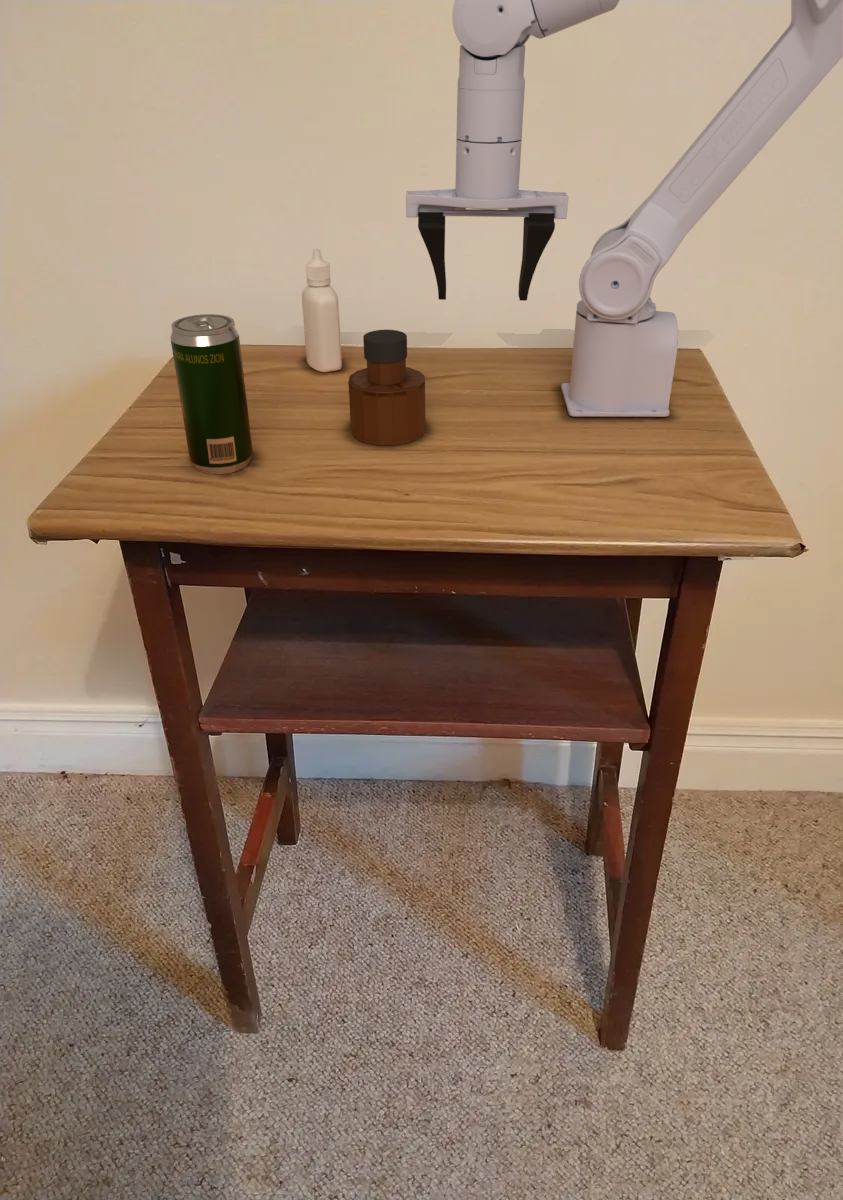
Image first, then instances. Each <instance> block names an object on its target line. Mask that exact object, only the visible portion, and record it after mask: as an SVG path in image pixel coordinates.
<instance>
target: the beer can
mask: <svg viewBox="0 0 843 1200" xmlns="http://www.w3.org/2000/svg"><path fill="white" fill-rule="evenodd" d="M235 325H236V323H235V320H234V318H233V317H230V316H228V315H223V314H216V313H215V314H214V313H211V314H210V313H206V314H205V313H203V314H194V315H187V316H185V317H181V318H178V319H176V320H174V321H173V322H172V323H171V326H170V327H171V334H170V336H169V339H170V345H171V351H172V358H173V364H174V369H175V375H176V382H177V386H178V387H177V389H178V395H179V401H180V406H181V413H182V419H183V425H184V431H185V432H184V433H185V438H186V444H187V450H188V457H189V460H190V462H191V464H192V465H193V467H194V468H195V469H196V470H197V471H198V472H201V473H204V474H208V475H209V474H210V475H225V474H231V473H234V472H235V473H236V472H239V471H240V470H243V469H245V468H246V467H247V466H248V465H250V462H251V460H252V456H253V451H254V449H253V442H252V434H251V425H250V424H251V423H250V418H249V417H250V416H249V409H248V399H247V391H246V382H245V375H244V365H243V358H242V349H241V341H240V340H241V339H240V334H239V331H238V329H237V328H236V326H235Z"/></svg>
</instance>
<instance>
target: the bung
mask: <svg viewBox="0 0 843 1200" xmlns="http://www.w3.org/2000/svg"><path fill="white" fill-rule="evenodd" d="M362 337H363V339H362V340H363V357H364V359H365V360H366V361H367V360H368V361H370V362H375V363H395V362H399V361H402V360H404V359H406V360H407V357H408V334H407V333H405V332H403V331H401V330H396V329H377V330H372V331H371V330H370V331H368V332H366V333H365V334H364V335H363V336H362Z"/></svg>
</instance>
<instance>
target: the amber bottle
mask: <svg viewBox="0 0 843 1200" xmlns="http://www.w3.org/2000/svg"><path fill="white" fill-rule="evenodd" d="M347 382H348V398H349V399H348V400H349V419H350V421H349V422H350V431H351V435H352V436H353V437H354V439H356V440H357V441H359V442H362V443H364V444H368V445H374V446H382V447H383V446H384V447H385V446H386V447H387V446H388V447H389V446H401V445H406V444H408V443H412V442H415V441H417V440H419V439H421V438H422V437H423V436H424V434H425V432H426V375H425V374H424V373H422V372H421V371H420V370H418V369H415V368H413V367H412V368H411V367H408V366H407V358H406V359H404V360H402V361H399V362H395V363H375V362H370V361H368V360H366V368H365V367H364V368H362V369H359V370H356V371H355V372H353V373H352V374H350V375H349V376H348V381H347Z"/></svg>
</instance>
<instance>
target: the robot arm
mask: <svg viewBox="0 0 843 1200" xmlns="http://www.w3.org/2000/svg"><path fill="white" fill-rule="evenodd" d="M619 2H620V0H454V2H453V8H452V17H451V19H452V26H453V30H454V34H455V36H456V38H457V40H458V42H459V43H460V46H459V58H458V64H459V66H458V67H459V68H458V77H457V93H456V94H457V96H456V97H457V98H456V137H455V138H456V139H455V140H456V142H455V144H456V145H455V183H454V186H455V187H454V188H450V189H431V190H406V192H405V217H406V218H415V219H416V218H417V227H418V231H419V234H420V236H421V238H422V240H423V243H424V245H425V247H426V250H427V253H428V255H429V258H430V261H431V265H432V268H433V271H434V276H435V280H436V286H437V295H438V300H443V301H446V300H447V275H446V274H447V273H446V257H445V254H446V251H445V250H446V217H477V218H478V217H480V218H481V217H483V218H485V217H487V218H488V217H489V218H490V217H491V218H493V217H494V218H497V217H498V218H500V217H501V218H523V228H522V229H523V233H522V253H521V266H520V270H519V271H520V272H519V280H518V292H517V293H518V294H517V295H518V299H519V301H523V302H524V301H525V302H527V301H528V297H529V292H530V288H531V284H532V280H533V278H534V274H535V271H536V268H537V266H538V263H539V261H540V259H541V257H542V256H543V253H544V251H545V249H546V247H547V245H548V243H549V241H550V240H551V238H552V236H553V234H554V232H555V228H556V222H555V219H556V220H566V219H567V217H568V205H569V195H568V194H567V192H566V191H565V192H563V191H562V192H561V191H559V192H558V191H540V190H529V189H528V190H526V189H519V188H520V176H521V175H520V173H521V160H522V159H521V158H522V143H523V142H522V141H523V140H522V139H523V123H524V122H523V121H524V107H525V106H524V104H525V90H526V79H525V76H524V75H525V74H524V72H525V58H526V45H525V44H526V43H527V42H528V41H529V39H530V38H531V36H532V37H535V38H536V39H539V40H541V39H544V38H546V37H549V36H551V35H555V34H556V33H558V32H561V31H564V30H567V29H569V28H571V27H574V26H577V25H579V24H582V23H583V22H586V21H589V20H591V19H593V18H596V17H598V16H601V15H603V14H606V13H609V12H611V11H614V10H615V9H616V8H617V6H618V5H619ZM842 58H843V0H790V23H789V25H788V27H787V28H786V30H785V31H784V32H783V33H782V34H781V35H780V37H779V38H778V39H777V40H776V42H775V43H774V44H773V45H772V47H771V48H770V49H769V50H768V52H766V54H765V55H764V56H763V57H762V58H761V60H760V61H759V62H758V63H757V65H756V66H755V67H754V68H753V70H751V71H750V73H749V74H748V75H747V77H746V78H745V79H744V80H743V82H742V83H741V84H740V85H739V87H738V88H736V90H735V91H734V93H733V94H732V95H731V96H730V97H729V99H728V100H727V101H726V102H725V104H723V106H722V107H721V108H720V110H719V111H718V112H717V113H716V114H715V116H714V117H713V118H712V119H711V120H710V121H709V123H708V124H707V125H706V126H705V128H704V129H703V130H702V131H701V133H700V134H699V135H698V136H697V138H696V139H695V140H694V141H693V143H691V145H690V146H689V147H688V148H687V150H686V151H685V152H684V153H683V154H682V156H681V157H680V158H679V159H678V161H677V162H676V163H675V164H674V165H673V166H672V168H671V169H670V170H669V171H668V173H667V174H666V175H665V176H664V177H663V178H662V180H661V181H660V182H659V183H658V185H657V186H656V187H655V188H654V190H653V191H652V192H651V193H650V195H648V196H647V198H646V199H645V200H644V201H642V202H641V204H639V206H637V208H636V209H635V210H634V211H633V212H632V213H631V215H630V216H629V217H628V218H627V219H626V220H625V221H624V222H622V223H620V224H619V225H617V226H614V227H613V228H610V229H608V230H607V231H605V232H604V233H603V234H602V235H600V237H598V239H597V240H596V242H595V243H594V246H593V247H592V249H591V252H590V257H589V258H588V259H587V261H585V263H584V265H583V267H582V269H581V272H580V275H579V279H578V290H579V295H580V298H581V300H579V301H578V302H577V303H576V311H575V323H574V325H575V326H574V332H573V333H574V335H573V345H572V346H573V347H572V355H571V357H572V358H571V359H572V360H571V368H570V380H569V382H563V383H561V385H560V388H561V393H562V396H563V398H564V402H565V407H566V408H567V413H568V416H570V417H576V418H577V417H582V418H583V417H584V418H585V417H587V418H588V417H589V418H591V417H597V418H598V417H599V418H600V417H603V418H605V417H606V418H608V417H609V418H610V417H613V418H615V417H616V418H617V417H618V418H622V417H623V418H625V417H627V418H629V417H630V418H633V417H636V418H642V417H643V418H667V417H669V416H670V415H671V413H670V409H669V408H670V401H671V394H672V387H673V381H674V375H675V368H676V361H677V354H678V345H679V325H678V319H677V315H676V314H675V312H673V311H661V310H657V304H656V303H655V302H653V299H652V298H651V297H650V296H651V294H652V291H653V286H654V282H655V280H656V279H657V276H658V275H659V273H660V272H661V270H662V269H663V268H664V267H665V266H666V265H667V263H668V262H669V261H670V260H671V258H672V256H674V254H675V252H676V251H677V250H678V247H679V246H680V245H681V244H682V242H683V240H684V239H685V238H686V236H687V235H688V233H689V232H691V230H692V229H693V228H694V227H695V225H696V224H697V223H698V222H699V221H700V220H701V219H702V218H703V216H704V215H706V213H707V212H708V211H709V209H711V207H712V206H713V205H714V204H715V203H716V202H717V200H719V198H720V197H721V196H722V195H723V194H724V193H725V192H726V190H727V189H728V188H729V187H730V186H731V185H732V183H734V181H735V180H736V179H737V178H738V176H740V174H741V173H742V172H743V171H744V170H745V169H746V167H747V166H748V165H749V164H750V163H751V162H752V160H753V159H754V158H755V157H756V156H757V155H758V154H759V152H760V151H761V150H762V149H763V148H764V147H765V146H766V144H768V143H769V141H770V140H771V139H772V138H773V137H774V136H775V134H776V133H777V132H778V131H779V130H780V129H781V128H782V126H783V125H784V124H785V123H786V122H787V121H788V120H789V118H790V117H791V116H792V114H794V112H796V111H797V109H798V108H799V107H800V106H801V105H802V104H803V102H804V101H806V99H807V98H808V96H810V94H811V93H812V92H813V91H814V90H815V89H816V88H817V86H819V84H821V82H822V81H823V80H824V78H826V76H827V75H828V74H829V73H830V72H831V71H832V69H833V68H834V67H835V66H836V65H837V64H838V63H839V61H840V60H842Z"/></svg>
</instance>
